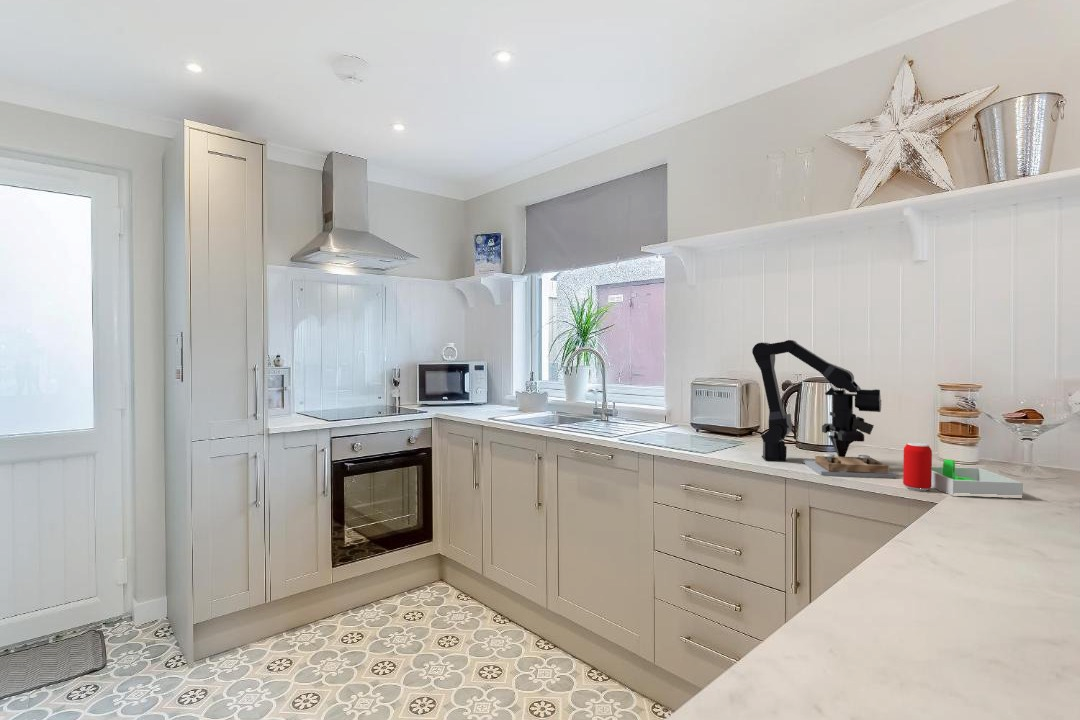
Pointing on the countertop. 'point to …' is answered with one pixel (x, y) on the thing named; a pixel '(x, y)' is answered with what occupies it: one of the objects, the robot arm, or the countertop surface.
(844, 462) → the panel
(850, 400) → the robot arm
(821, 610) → the countertop surface
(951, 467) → the mechanical part
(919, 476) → the beverage can
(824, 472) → the boss board
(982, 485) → the frame
